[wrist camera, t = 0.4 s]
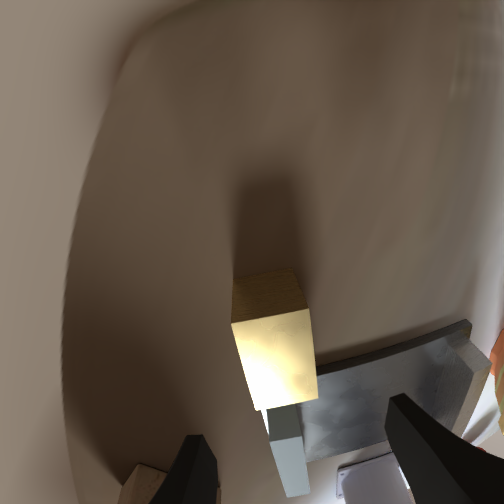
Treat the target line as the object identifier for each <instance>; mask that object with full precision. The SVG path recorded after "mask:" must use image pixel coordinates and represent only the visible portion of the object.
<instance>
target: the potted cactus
mask: <svg viewBox="0 0 504 504" xmlns="http://www.w3.org/2000/svg"><path fill="white" fill-rule="evenodd" d="M489 360H490V361H491V362H492V363H493V364H492V367H491V369H490V372H491V374H492V375H494V376H495V395H496V398H497V402H498V405H499V409H500V412H501V417H500V419H499V421H498V423H499V426H500V428H501V431H502V434H503V435H504V329H503V330H502V331H501V333H500V335H499V337H498V339H497V341H496V343H495V345H494V347H493V349H492V351H491V354H490V359H489Z"/></svg>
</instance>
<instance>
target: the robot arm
mask: <svg viewBox="0 0 504 504" xmlns="http://www.w3.org/2000/svg"><path fill="white" fill-rule="evenodd" d="M384 428H385V431H386V435H387V438H388V441H389V443H390V446H391V449H392V451H393V452H392V453H390V454H387V455H384V456H381V457H378V458H375V459H372V460H369V461H366V462H363V463H359V464H356V465H352V466H349V467H345V468H342V469H339V470H338V472H337V493H336V497H337V499H340V498H344V499H345V502H346V504H413V502H412V499H411V497H410V494H409V492H408V490H407V487H406V485H405V482H404V480H403V477H402V475H401V473H400V470H399V468H398V467H399V465H400V467H401V470H402V472H403V474H404V476H405V478H406V480H407V482H408V484H409V486H410V488H411V491H412V493H413V496H414V499H415V502H416V504H504V459H502V458H500V457H497V456H494V455H492V454H489V453H487V452H485V451H483V450H481V449H479V448H477V447H475V446H473V445H471V444H470V443H468V442H466V441H465V440H463V439H461V438H460V437H458V436H457V435H455V434H454V433H452V432H451V431H450V430H448V429H447V428H445V427H444V426H443V425H442V424H440V423H439V422H438V421H436V420H435V419H434V418H433V417H431V416H430V415H429V414H428V413H427V412H425V411H424V410H423V409H422V408H421V407H420V406H419V405H417V404H416V403H415V402H414V401H413V400H412V399H411V398H410V397H409V396H407V395H406V394H405V393H401V394H398V395H395V396H392V397H390V398H389V404H388V409H387V415H386V420H385V425H384ZM217 486H218V474H217V460H216V458H215V456H214V455H213V453H212V451H211V449H210V447H209V446H208V444H207V442H206V440H205V438H204V437H203V435H202V434H201V435H187V436H186V437H185V439H184V442H183V444H182V446H181V448H180V450H179V452H178V454H177V456H176V458H175V460H174V462H173V464H172V466H171V468H170V470H169V472H168V473H167V475H166V477H165V479H164V480H163V482H162V484H161V485H160V487H159V488H158V490H157V492H156V493H155V495H154V496H153V498H152V499H151V500H150V502H149V503H148V504H216V499H217Z"/></svg>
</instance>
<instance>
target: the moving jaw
mask: <svg viewBox="0 0 504 504" xmlns="http://www.w3.org/2000/svg"><path fill="white" fill-rule="evenodd" d="M266 413H267V423H268V433H269V442H270V445H271V448H272V452H273V455H274V458H275V461H276V464H277V468H278V471H279V474H280V477H281V480H282V483H283V486H284V489H285V492H286V495H287V498H288V497H294V496H300V495H305V494H310V487H309V480H308V473H307V467H306V460H305V454H304V447H303V440H302V435H301V430H300V425H299V420H298V415H297V410H296V406H295V403H294V404H289V405H284V406H278V407H273V408H267V409H266Z"/></svg>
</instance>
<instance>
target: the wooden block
mask: <svg viewBox="0 0 504 504" xmlns="http://www.w3.org/2000/svg"><path fill="white" fill-rule="evenodd" d="M166 475H167V473H165V472H162V471H159V470H156V469H154V468H151V467H148V466H145V465H143V464H138V465H137V466H136V468H135V469H134V471H133V472H132V474H131V475H130V477H129V478H128V480H127V481H126V483H125V484H124V486H123V487H122V489H121V492H120V496H119V500H118V504H148V503H149V502H150V500H151V499H152V498H153V496H154V495H155V493H156V492H157V490H158V488H159V487H160V485H161V484H162V482H163V480H164V479H165V477H166ZM216 504H221V489H220V488H219V487H217V499H216Z"/></svg>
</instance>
